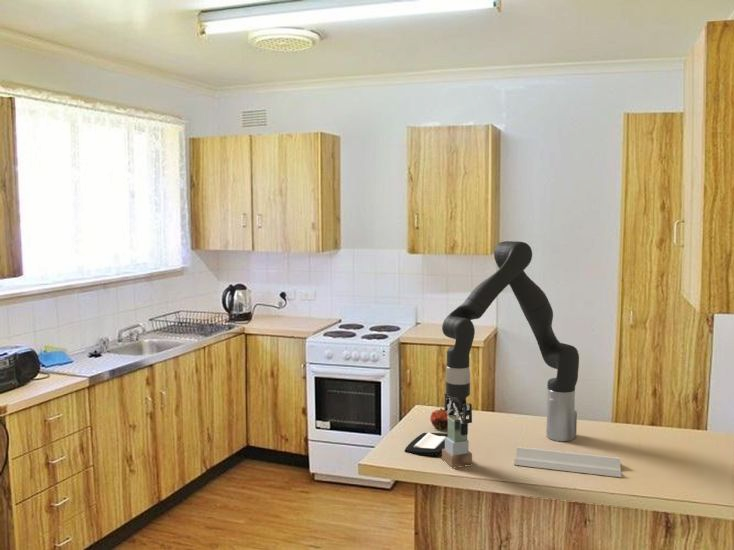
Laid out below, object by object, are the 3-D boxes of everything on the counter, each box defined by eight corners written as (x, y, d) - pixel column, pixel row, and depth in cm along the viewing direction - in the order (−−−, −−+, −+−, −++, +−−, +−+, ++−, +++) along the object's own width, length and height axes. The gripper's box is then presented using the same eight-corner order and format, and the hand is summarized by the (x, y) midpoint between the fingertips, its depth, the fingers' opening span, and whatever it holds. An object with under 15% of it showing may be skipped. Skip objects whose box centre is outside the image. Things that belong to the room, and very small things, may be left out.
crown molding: (514, 467, 204) (514, 456, 204) (518, 453, 215) (518, 443, 215) (621, 479, 194) (621, 468, 194) (619, 464, 205) (619, 453, 205)
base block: (461, 457, 211) (461, 445, 211) (471, 465, 205) (472, 453, 204) (441, 460, 209) (442, 448, 208) (451, 469, 202) (451, 456, 202)
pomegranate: (450, 437, 235) (455, 414, 242) (445, 425, 231) (450, 402, 238) (431, 436, 238) (436, 414, 245) (425, 425, 234) (430, 402, 241)
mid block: (460, 447, 210) (460, 435, 209) (468, 453, 204) (468, 440, 204) (444, 449, 208) (444, 437, 207) (452, 455, 203) (452, 443, 202)
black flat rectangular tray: (421, 429, 233) (459, 431, 227) (422, 437, 234) (459, 439, 228) (400, 447, 216) (440, 450, 210) (401, 456, 216) (441, 459, 210)
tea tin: (460, 435, 209) (460, 413, 208) (467, 440, 204) (467, 418, 204) (447, 437, 207) (447, 415, 206) (454, 442, 203) (454, 420, 202)
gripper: (479, 384, 198) (479, 436, 200) (458, 373, 211) (458, 422, 213) (457, 387, 196) (457, 439, 197) (437, 375, 209) (437, 424, 211)
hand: (457, 430), depth 205 cm, fingers open, 8 cm apart
